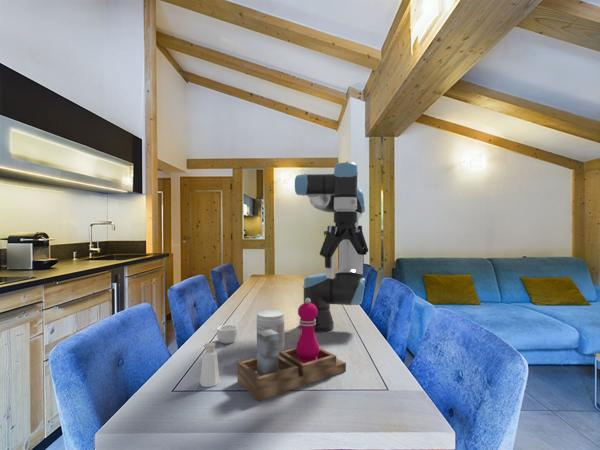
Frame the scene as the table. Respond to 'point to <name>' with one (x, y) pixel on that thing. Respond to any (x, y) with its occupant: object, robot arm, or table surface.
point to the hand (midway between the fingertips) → (345, 275)
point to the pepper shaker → (209, 366)
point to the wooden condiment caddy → (282, 368)
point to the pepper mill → (307, 333)
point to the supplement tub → (272, 324)
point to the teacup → (227, 333)
